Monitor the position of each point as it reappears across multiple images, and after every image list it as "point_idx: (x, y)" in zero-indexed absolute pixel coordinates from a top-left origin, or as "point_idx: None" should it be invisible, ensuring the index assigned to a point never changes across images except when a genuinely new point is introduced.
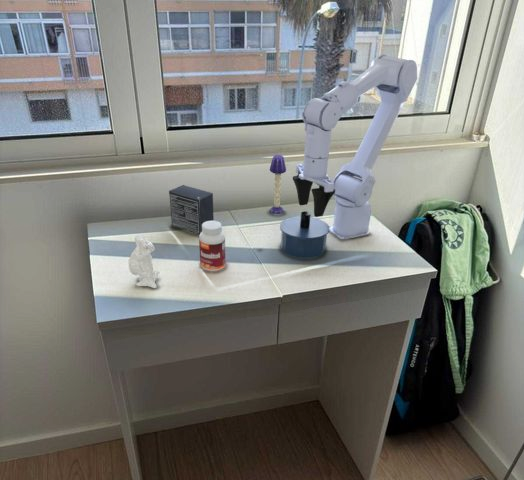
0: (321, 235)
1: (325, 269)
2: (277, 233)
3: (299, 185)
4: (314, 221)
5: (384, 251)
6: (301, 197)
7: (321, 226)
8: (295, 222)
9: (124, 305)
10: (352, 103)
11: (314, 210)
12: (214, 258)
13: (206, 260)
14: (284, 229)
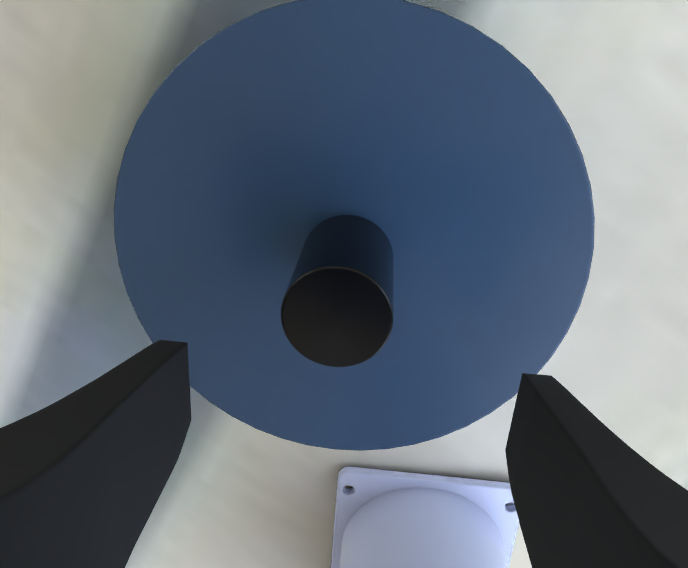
0: (127, 283)
1: (49, 165)
2: (685, 169)
3: (626, 554)
4: (397, 389)
5: (136, 560)
6: (547, 443)
7: (285, 382)
8: (471, 233)
9: None
10: None
11: (147, 367)
12: None
13: None
14: (390, 33)
